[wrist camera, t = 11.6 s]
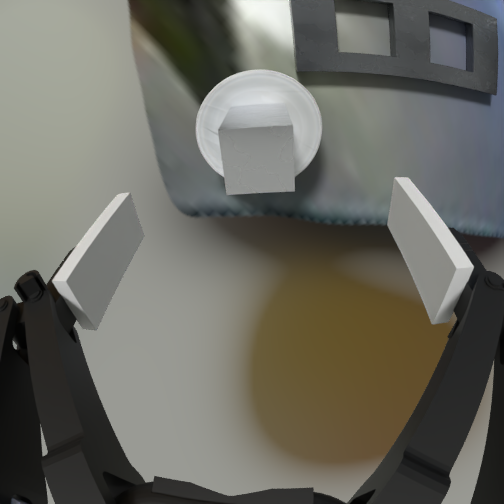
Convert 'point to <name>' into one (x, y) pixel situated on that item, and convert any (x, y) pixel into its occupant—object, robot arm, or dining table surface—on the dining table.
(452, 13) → the grey flat rectangular block
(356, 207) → the dining table surface
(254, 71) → the ramekin
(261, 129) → the matte gray foam brick
